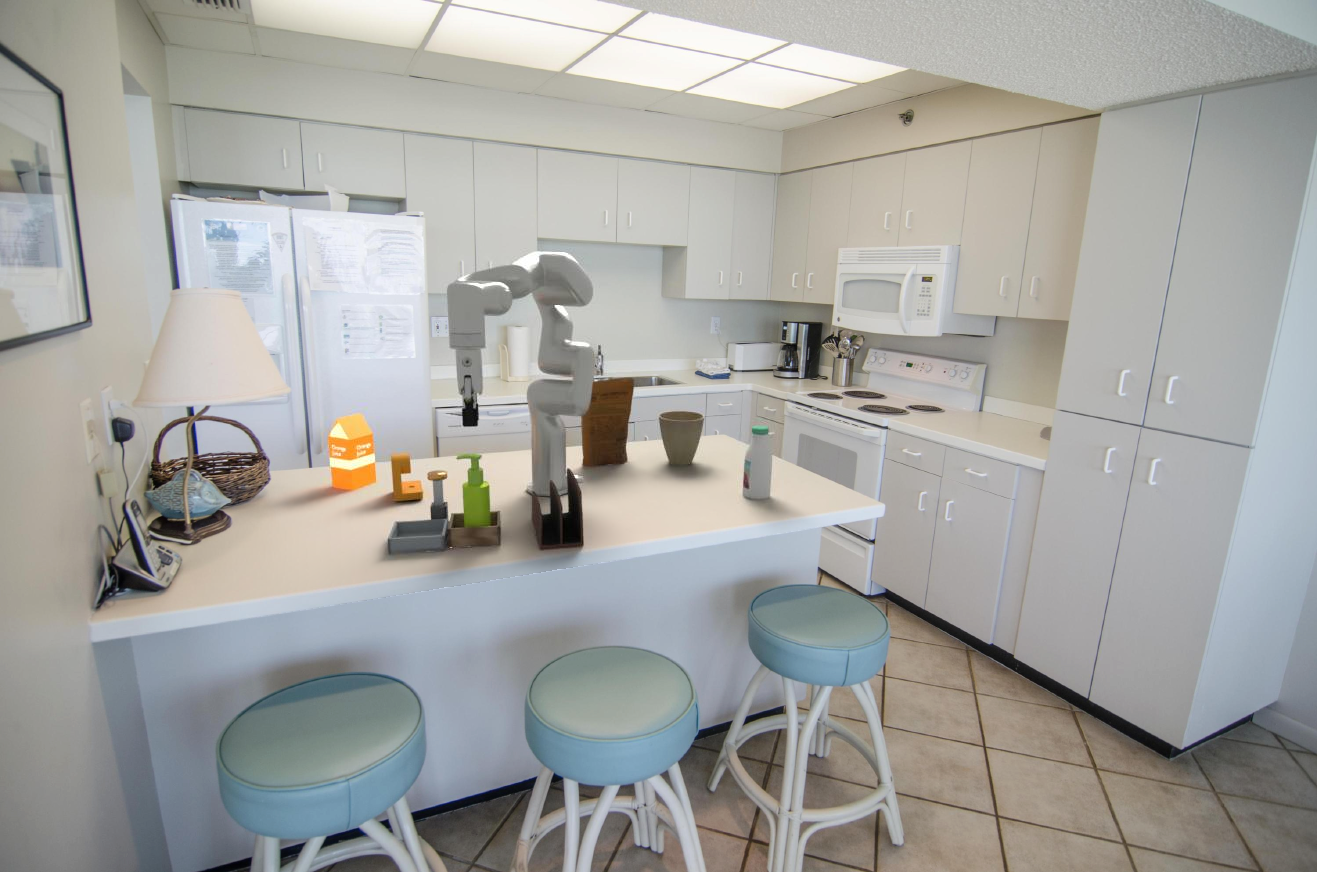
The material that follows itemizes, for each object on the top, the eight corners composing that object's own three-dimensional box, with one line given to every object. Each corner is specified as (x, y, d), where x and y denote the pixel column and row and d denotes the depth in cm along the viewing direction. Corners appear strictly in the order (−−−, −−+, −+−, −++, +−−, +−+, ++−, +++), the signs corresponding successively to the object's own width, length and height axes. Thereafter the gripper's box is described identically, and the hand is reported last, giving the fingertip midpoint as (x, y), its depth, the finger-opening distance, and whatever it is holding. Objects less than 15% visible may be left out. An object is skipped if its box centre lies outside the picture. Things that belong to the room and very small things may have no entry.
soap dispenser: (463, 533, 158) (459, 451, 153) (493, 533, 159) (490, 451, 154) (458, 543, 153) (453, 458, 148) (489, 542, 153) (485, 458, 148)
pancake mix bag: (637, 463, 220) (639, 378, 213) (583, 470, 211) (583, 381, 204) (628, 458, 226) (629, 375, 219) (575, 464, 216) (575, 378, 210)
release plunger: (450, 519, 163) (447, 470, 160) (448, 526, 159) (446, 475, 156) (431, 520, 162) (428, 470, 159) (429, 527, 158) (426, 476, 155)
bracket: (423, 501, 179) (420, 458, 176) (394, 504, 177) (391, 460, 174) (421, 489, 189) (418, 448, 186) (393, 491, 186) (390, 450, 183)
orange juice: (331, 486, 189) (325, 417, 184) (356, 478, 197) (350, 411, 192) (353, 490, 186) (347, 420, 181) (377, 482, 194) (371, 414, 189)
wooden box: (500, 528, 162) (500, 510, 161) (500, 545, 152) (500, 526, 151) (452, 531, 159) (451, 513, 158) (449, 548, 150) (448, 529, 149)
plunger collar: (451, 523, 164) (450, 500, 162) (450, 531, 159) (449, 507, 158) (430, 525, 163) (429, 501, 161) (428, 532, 158) (426, 508, 157)
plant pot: (660, 455, 230) (661, 409, 226) (704, 458, 228) (706, 412, 224) (654, 467, 215) (655, 419, 211) (700, 470, 213) (702, 421, 210)
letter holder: (571, 516, 171) (570, 463, 168) (583, 547, 153) (583, 488, 149) (531, 519, 168) (530, 465, 165) (539, 551, 150) (538, 490, 147)
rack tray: (448, 532, 158) (447, 518, 158) (445, 550, 148) (444, 535, 147) (396, 535, 156) (395, 521, 155) (388, 554, 146) (387, 539, 145)
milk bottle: (773, 494, 192) (777, 426, 187) (765, 502, 185) (770, 431, 181) (747, 490, 195) (751, 422, 190) (738, 497, 188) (742, 428, 184)
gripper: (484, 345, 138) (487, 432, 142) (486, 337, 154) (489, 415, 158) (446, 345, 136) (450, 433, 140) (452, 337, 152) (455, 416, 156)
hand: (470, 422), depth 149 cm, fingers open, 4 cm apart
